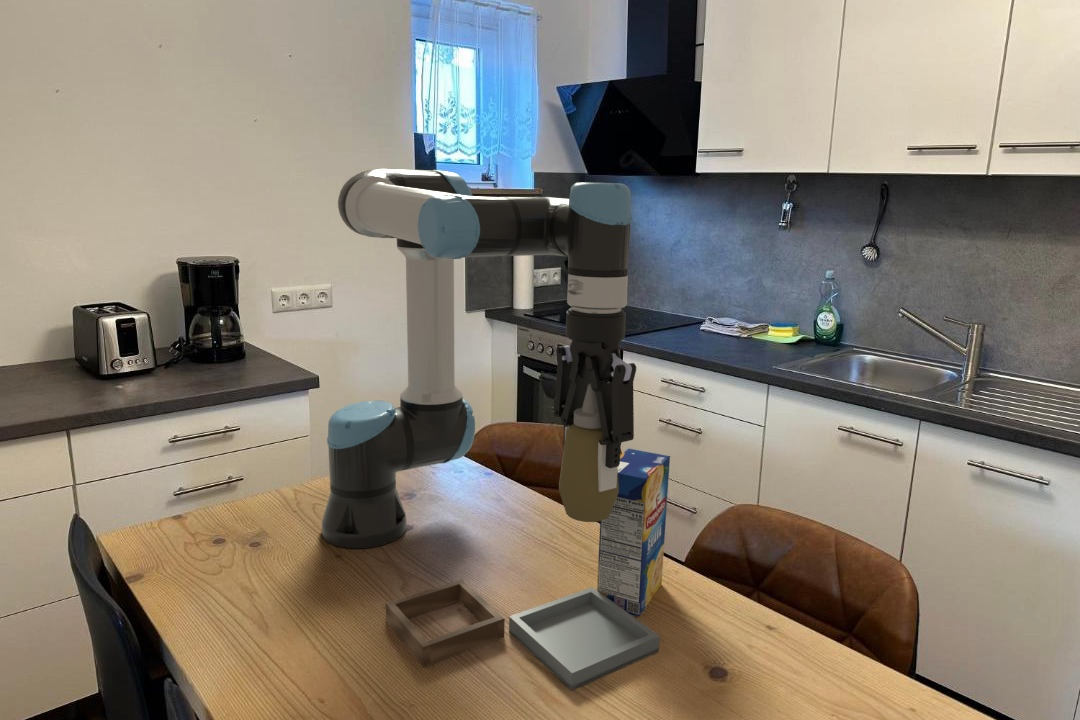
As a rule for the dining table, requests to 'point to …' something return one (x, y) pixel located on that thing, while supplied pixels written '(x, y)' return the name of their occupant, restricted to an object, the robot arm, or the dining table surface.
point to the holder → (451, 642)
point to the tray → (583, 637)
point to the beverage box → (635, 532)
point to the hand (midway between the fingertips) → (589, 479)
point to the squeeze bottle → (584, 466)
